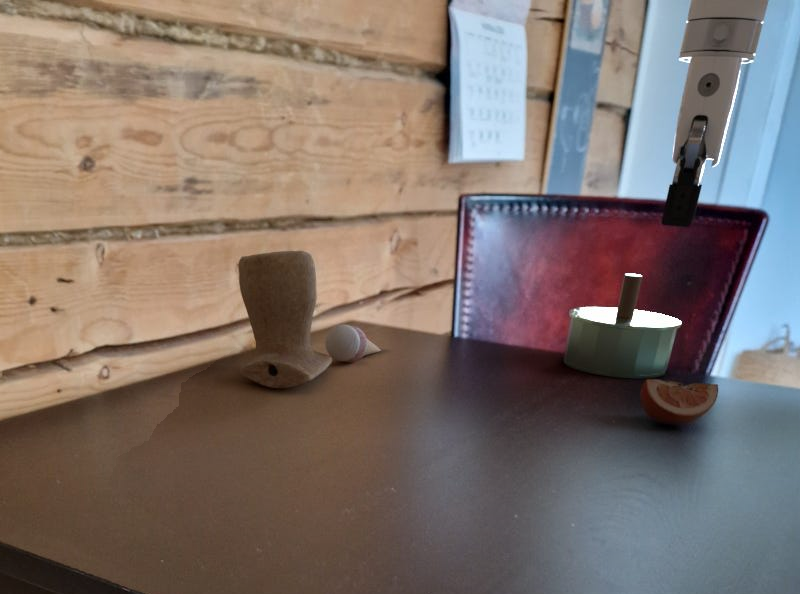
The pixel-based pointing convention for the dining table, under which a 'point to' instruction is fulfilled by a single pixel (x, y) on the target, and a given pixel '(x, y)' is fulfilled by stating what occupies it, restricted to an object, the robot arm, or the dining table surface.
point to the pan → (618, 350)
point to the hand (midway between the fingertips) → (677, 223)
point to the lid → (626, 312)
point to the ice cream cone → (348, 343)
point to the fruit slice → (677, 400)
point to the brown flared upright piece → (281, 317)
